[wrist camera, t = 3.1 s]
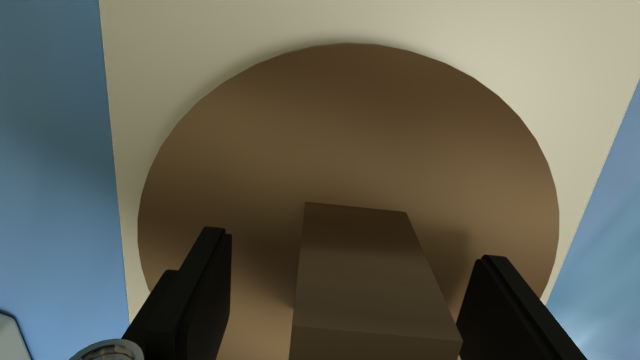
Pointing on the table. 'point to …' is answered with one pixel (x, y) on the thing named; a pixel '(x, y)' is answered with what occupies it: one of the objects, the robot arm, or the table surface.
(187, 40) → the placemat
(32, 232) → the table surface
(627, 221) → the table surface
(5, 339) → the jar
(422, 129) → the lid
